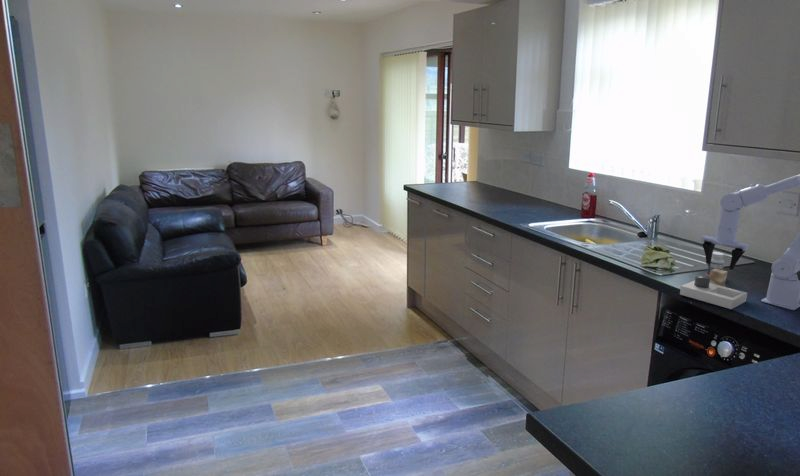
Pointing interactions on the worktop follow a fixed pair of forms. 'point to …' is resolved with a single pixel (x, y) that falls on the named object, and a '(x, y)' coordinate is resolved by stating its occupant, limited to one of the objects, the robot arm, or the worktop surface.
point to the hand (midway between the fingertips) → (719, 266)
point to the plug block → (718, 277)
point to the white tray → (713, 293)
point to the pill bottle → (715, 262)
